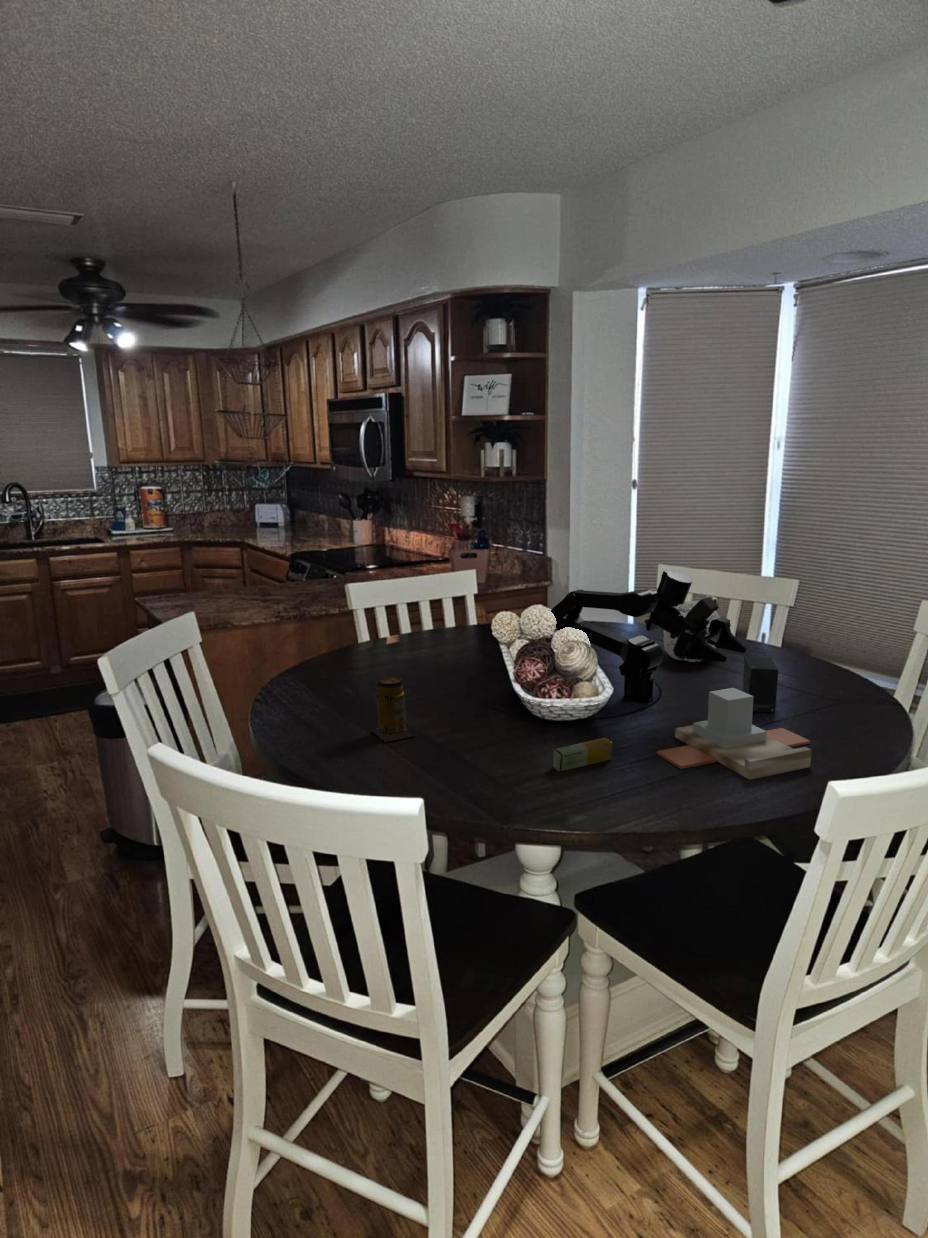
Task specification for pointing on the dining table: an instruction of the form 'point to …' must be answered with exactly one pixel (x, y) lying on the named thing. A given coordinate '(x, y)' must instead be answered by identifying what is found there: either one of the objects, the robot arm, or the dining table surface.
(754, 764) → the birch board
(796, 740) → the pad
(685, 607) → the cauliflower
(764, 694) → the small box
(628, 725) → the dining table surface
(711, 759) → the pad
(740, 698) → the stepped block
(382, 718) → the condiment
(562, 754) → the medication box
